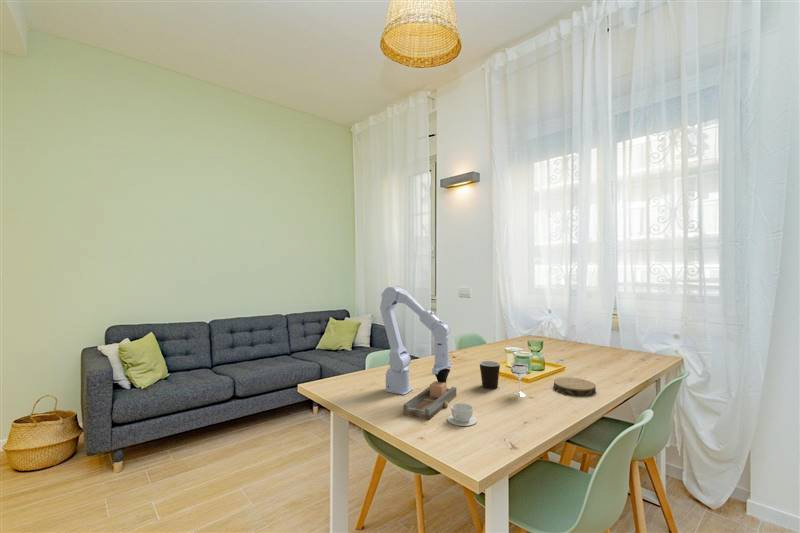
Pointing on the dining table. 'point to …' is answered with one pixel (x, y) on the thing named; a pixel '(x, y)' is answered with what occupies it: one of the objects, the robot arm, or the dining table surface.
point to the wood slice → (574, 386)
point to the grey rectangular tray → (428, 404)
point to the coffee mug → (489, 374)
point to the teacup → (462, 415)
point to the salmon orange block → (438, 389)
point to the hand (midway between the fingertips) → (442, 387)
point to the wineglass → (519, 374)
